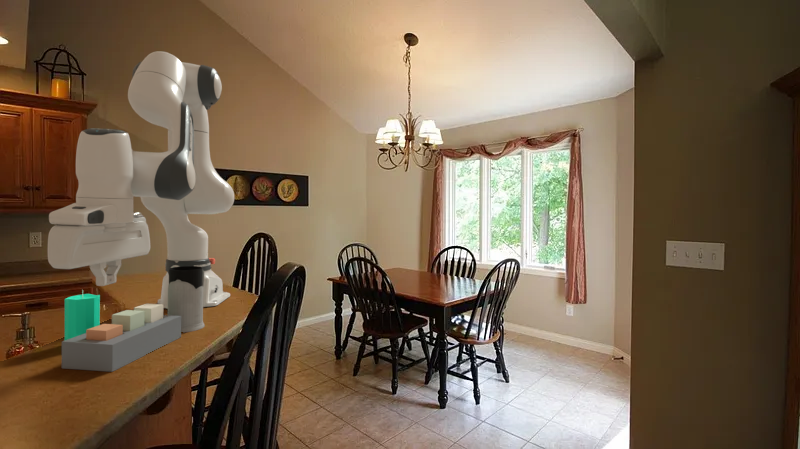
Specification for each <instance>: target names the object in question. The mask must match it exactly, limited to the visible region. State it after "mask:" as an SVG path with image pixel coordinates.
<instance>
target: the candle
mask: <svg viewBox="0 0 800 449" xmlns="http://www.w3.org/2000/svg"><path fill="white" fill-rule="evenodd" d="M81 291H82V292H81V293H82V294H77V295H72V296H68V297H67V298H64V341H65V340H68V339H70V338H73V337H76V336H79V335H82V334H85V333H86V330H87V329H90V328H93V327H96V326H99V325H101V324H100V323H101V321H100V320H101V319H100V317H101V314H100V312H101V311H100V309H101V308H100V307H101V306H100V305H101V304H100V303H101V302H100V301H101V295H100V294H97V295H96V294H91V293H84V290H83V289H81Z"/></svg>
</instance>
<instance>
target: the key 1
mask: <svg viewBox="0 0 800 449" xmlns="http://www.w3.org/2000/svg"><path fill="white" fill-rule="evenodd" d="M122 334H123V325H117V324H112V323H102V324H100V325H99V326H96V327H93V328H90V329H87V330H86V340H100V341H107V340H110V339H112V338H115V337H117V336H120V335H122Z"/></svg>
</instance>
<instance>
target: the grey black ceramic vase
mask: <svg viewBox="0 0 800 449" xmlns="http://www.w3.org/2000/svg"><path fill="white" fill-rule="evenodd" d="M203 287H204V270H203V267H198V266H181V267H173V268H170V269H169V285H168V309H167V315H172V316H181V332H183V333H190V332H195V331H198V330H201V329H203V328H205V322H204V307H203Z"/></svg>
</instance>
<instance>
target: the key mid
mask: <svg viewBox="0 0 800 449" xmlns="http://www.w3.org/2000/svg"><path fill="white" fill-rule="evenodd" d="M144 312H145V311H137V310H134V309H126V310H121V311H120V312H116V313H113V314H111V324H117V325H123V331H132V330H135V329H137V328H140V327H142V326H144Z"/></svg>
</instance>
